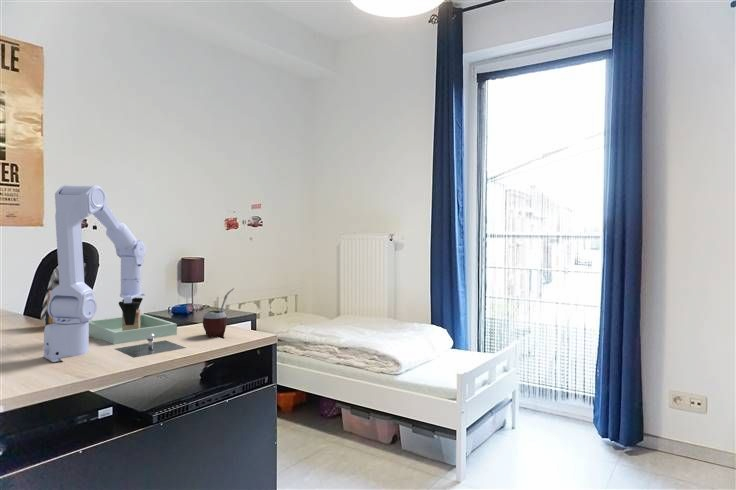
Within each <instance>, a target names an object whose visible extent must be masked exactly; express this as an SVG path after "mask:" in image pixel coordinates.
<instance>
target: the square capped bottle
mask: <svg viewBox="0 0 736 490" xmlns="http://www.w3.org/2000/svg"><path fill="white" fill-rule="evenodd" d="M140 315H141V309H139V310H137V311H136V316H135V322H134V325H126V324H125V320H124V315H123V312H122V315H121V317H122V331H125V330H132V329H139V328H140Z"/></svg>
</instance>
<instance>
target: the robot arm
mask: <svg viewBox="0 0 736 490" xmlns="http://www.w3.org/2000/svg"><path fill="white" fill-rule="evenodd" d="M54 199H55V201H54V204H55V215H54V216H55V217H54V218H55V235H56V236H55V237H56V250H57V251H56V253H57V264H58V265H57V266H58V267H57V268H58V283H59V285H57V286H56V287H54V288H53V289H52V290H50V291H51V292H50V300H49V303H48V314H49V316H50V317H51V318H53V322H56V323H54V324H49V325H46V326H45V327H44V330H43V354H42V355H43V356H42V357H43V358H44V359H47V360H48V361H49V362H51V363H58V362H63V358H69V357H77V356H83V355H85V354H88V353H89V352H90V351H89V349H90V340H89V337H90V336H89V321H92V319H93V318H94V316H95V315H96V313H97V309H98V305H97V301H96V299H95V295H94V289H92V288H91V287H90V286H89V285H88V284H86V283H85V273H84V271H85V270H84V269H85V268H84V254H83V234H82V222H83V221H84V220H85V219H86V218H88V217H90V216H91V215H92V216H93V217H95V218H96V220H98V222H99V223H100V224H101V225H103V226H104V227H105V228H106V230H105V234H106V236H107V238H108V239H109V240H110V241H111V242H112V243H113V245H114V248H115V253H116V256H117V257H118V258H120V293H119V297H120V298H122V300H121V301H118V306H119V307H120V309H121V312H122V313H123V315H124V320H125V324H126V325H134V322H135V316H136V311H137V310H140V306H141V303H142V301H143V296H146V295H147V293H146V292H142V278H143V277H142V276H143V275H142V270H143V269H142V268H143V267H142V266H143V265H144V260H145V259H144V258H145V256H146V254H147V249H146V245H145V243H144V242H143V241H142V240H141V239H137V238H136V236H135V235H134V234H133V233H132V231H131V230H130V229H129V227H128V226H127V224H126V223H124V222H121V221H120V222H119V221H118V219H117V218H116V216H115V214H114V213H113V211H112V210H111V208H110V207H109V205H108V195H107V194H106V193H105V191H104V189H103V188H102V187H101V186H99V185H68V184H66V185H65V184H64V185H61V186H60V188H58V189H57V190H56V191H55V193H54ZM142 264H143V265H142Z"/></svg>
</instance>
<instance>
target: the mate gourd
mask: <svg viewBox="0 0 736 490" xmlns="http://www.w3.org/2000/svg"><path fill="white" fill-rule="evenodd" d="M234 290H235V288H234V287H232V288H231V289H230V290H228V292H226V294H225V295H224V297H223V301H222V304H221V307H220V309H219V310H208V311H206V312H205V313H204V315H203V318H202V326H203V330H204V331H205V335H207V336H208V337H209V338H212V337H215V338H219V339H226V338H225V336H224V335H225V332H226V328H227V325H228V317H227V316H228V315H227V314H226V312H225V311H223V309H224V306H225V303H226V300H227V298H228V295H229V294H230V293H231V292H233V291H234Z"/></svg>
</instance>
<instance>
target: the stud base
mask: <svg viewBox="0 0 736 490" xmlns="http://www.w3.org/2000/svg"><path fill="white" fill-rule="evenodd" d="M155 339H156V338H155V335H154V334H153V333H149V334H148V335H147V336H146V339H145V340H147V341H148V343H140V344H135V345H129V346H123V347H117V348H114V350H116V351H117V352H121V353H122V354H123V355H127V356H129V357H131V358H139V357H145V356H150V355H157V354H161V353H167V352H172V351H176V350H182V349H183V350H184V349H187V347H185V346H182V345H180V344H178V343H174V342H172V341H169V340H159V341H155Z"/></svg>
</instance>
